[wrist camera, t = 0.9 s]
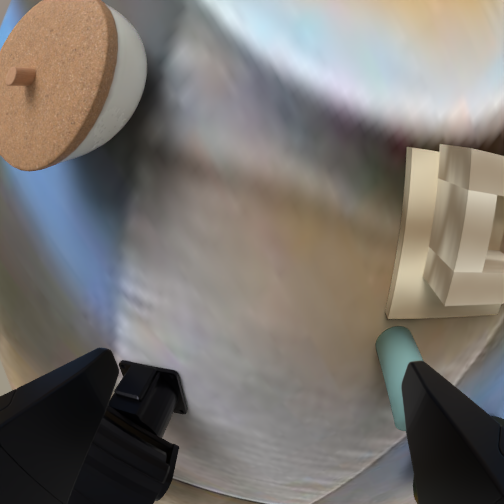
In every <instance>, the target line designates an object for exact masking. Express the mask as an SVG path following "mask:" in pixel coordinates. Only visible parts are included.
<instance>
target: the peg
mask: <svg viewBox="0 0 504 504" xmlns="http://www.w3.org/2000/svg"><path fill="white" fill-rule="evenodd" d="M376 350H377V354H378V357H379V361H380V365H381V368H382V372H383V376H384V380H385V384H386V388H387V392H388V396H389V400H390V404H391V408H392V413H393V417H394V422H395V426H396V428H397V429H399V430H402V431H406V425H405V415H404V406H403V397H402V389H401V386H402V380H403V378H404V375H405V372H406V369H407V366H408V364H409V363H410V362H411V361H420V360H421V361H423V359H422V357H421V354H420V352H419V350H418V347H417V345H416V343H415V341H414V339H413V336H412V334H411V332H410V331H409V330H408V329H407V328H405V327H402V326H396V327H392V328H389V329H387V330H386V331H384V332H383V333H382V334H381V335H380V336H379V337H378V339H377V341H376Z"/></svg>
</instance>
